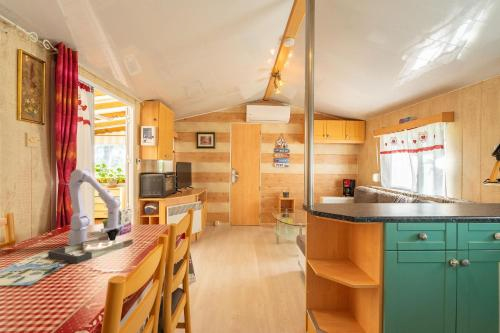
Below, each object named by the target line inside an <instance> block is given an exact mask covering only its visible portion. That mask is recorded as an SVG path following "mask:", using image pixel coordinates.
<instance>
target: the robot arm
mask: <svg viewBox="0 0 500 333" xmlns="http://www.w3.org/2000/svg"><path fill="white" fill-rule="evenodd" d="M84 182H85V183H89V184H90V185H91V187H92V188H94V189H95V190H96V191H97V192H98V198H100V199H101V200H102V201H103V202H104V204H105V206H106V208H107V219H108V220H107V227H106V228H104V227H103V228H101V229H100V233H101V234H102V233H103V234H106V236H107V235H108V237H109V240H110V241H116V238H117V236H118V235H117V234H118V232H119V230H117V229H119V228H124V225H123V224H120V225H118V214H119V210H120V209H119V207H120V206H121V200H120V199H119V198H118V197H116V196H115V195H113V194H112V193H111V190H110V189H107V188H104V187H103V186H102V184H101V183H100V181H98V180H97V178H96V177H95V175H94V173H93V172H91V171H90V169H88V168H87V169H85V168H84V169H80V168H77V169H74V170H73V171H72V172H71V173H70V178H69V182H68V189H69V195H70V196H69V197H70V200H71V207H72V215H71V217H70V224H69V225H70V229H69V231H68V234H67V235H68V239H67V243H66V245H68V246H70V245H74V244H77V243H81V242H85V241H88V226H89V225H90V223H91V221H90V218H89V216H88V214H87V213H86V212H85V209H84V208H85V207H84V203H83V201H84V200H83V195H82V190H81V185H82V184H83V183H84ZM105 232H106V233H105Z"/></svg>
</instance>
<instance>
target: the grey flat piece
mask: <svg viewBox="0 0 500 333" xmlns="http://www.w3.org/2000/svg"><path fill="white" fill-rule="evenodd" d="M105 240H109V237H108V235H107V234H106V235H105V236H100V237H96V238H93V239H87V241H85V242H94V241H105ZM133 241H134V240H133V239H128V240H127V239H126V240H125V241H122V242H121V241H120V242H119V243H118V244H115V245H112V246H108V247H105V248H102V249H99V250H96V251H93V252H91V253H92V259H95V258H97V257H101V256H103V255H106V254H108V253H112V252H115V251H118V250H120V249H124V248H127V247H129V246H132V244H133ZM85 242H81V243H77V244H74V245H68V246H64V247H65V253H67V254H68V253H70V252H74V251H78V250H81V249H83V243H85Z"/></svg>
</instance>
